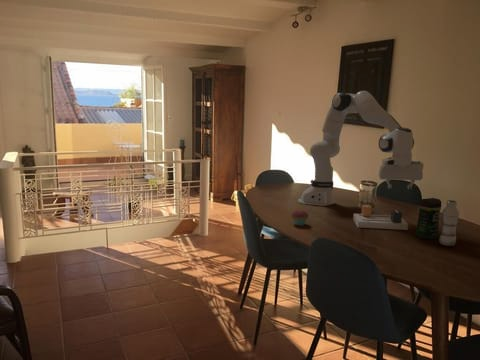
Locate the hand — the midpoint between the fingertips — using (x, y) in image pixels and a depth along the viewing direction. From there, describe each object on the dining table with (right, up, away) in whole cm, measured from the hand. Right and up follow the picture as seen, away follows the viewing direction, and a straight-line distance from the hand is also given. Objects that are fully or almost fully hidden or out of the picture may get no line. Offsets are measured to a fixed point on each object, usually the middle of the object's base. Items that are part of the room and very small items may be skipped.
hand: (399, 188), depth 198 cm
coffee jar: (+8, -23, -11) cm, 27 cm away
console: (-7, -19, +8) cm, 22 cm away
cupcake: (-49, -19, +6) cm, 53 cm away
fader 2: (-1, -16, +3) cm, 17 cm away
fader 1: (-13, -14, +13) cm, 23 cm away
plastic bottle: (+12, -25, -23) cm, 36 cm away
